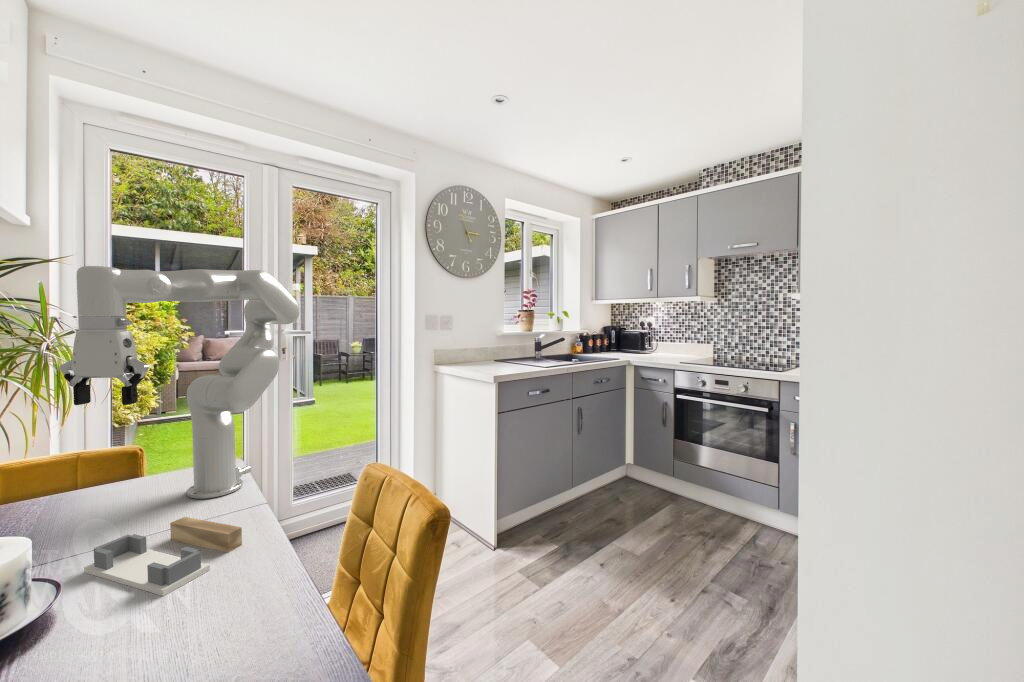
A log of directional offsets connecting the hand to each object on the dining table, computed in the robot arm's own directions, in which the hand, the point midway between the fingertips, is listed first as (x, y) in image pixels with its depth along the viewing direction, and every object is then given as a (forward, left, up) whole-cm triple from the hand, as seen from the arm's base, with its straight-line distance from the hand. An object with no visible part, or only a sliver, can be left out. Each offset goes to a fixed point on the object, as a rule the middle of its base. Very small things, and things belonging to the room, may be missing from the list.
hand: (106, 403), depth 93 cm
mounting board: (+7, +24, -28) cm, 38 cm away
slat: (-4, +24, -29) cm, 37 cm away
